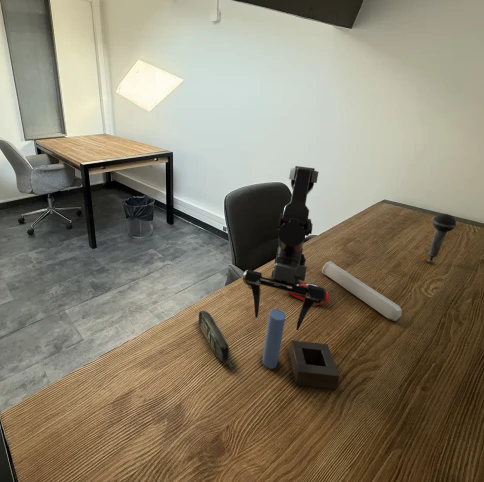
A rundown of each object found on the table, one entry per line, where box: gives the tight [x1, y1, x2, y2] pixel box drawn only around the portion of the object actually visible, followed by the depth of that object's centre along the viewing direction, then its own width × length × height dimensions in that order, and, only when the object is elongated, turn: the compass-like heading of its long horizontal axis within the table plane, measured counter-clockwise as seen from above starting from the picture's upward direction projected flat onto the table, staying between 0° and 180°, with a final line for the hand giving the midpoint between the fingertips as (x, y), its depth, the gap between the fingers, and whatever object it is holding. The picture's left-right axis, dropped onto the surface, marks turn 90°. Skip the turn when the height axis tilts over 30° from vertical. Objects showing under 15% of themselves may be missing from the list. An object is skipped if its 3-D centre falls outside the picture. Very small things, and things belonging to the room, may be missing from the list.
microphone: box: [427, 213, 457, 264], centre depth 111 cm, size 7×7×20 cm
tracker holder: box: [287, 283, 330, 306], centre depth 92 cm, size 12×4×10 cm
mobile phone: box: [198, 310, 233, 369], centre depth 74 cm, size 5×3×15 cm
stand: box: [288, 340, 340, 390], centre depth 68 cm, size 8×8×4 cm
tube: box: [321, 260, 403, 322], centre depth 94 cm, size 5×5×25 cm
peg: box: [262, 308, 286, 370], centre depth 68 cm, size 3×3×14 cm
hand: (276, 323), depth 69 cm, fingers open, 9 cm apart
